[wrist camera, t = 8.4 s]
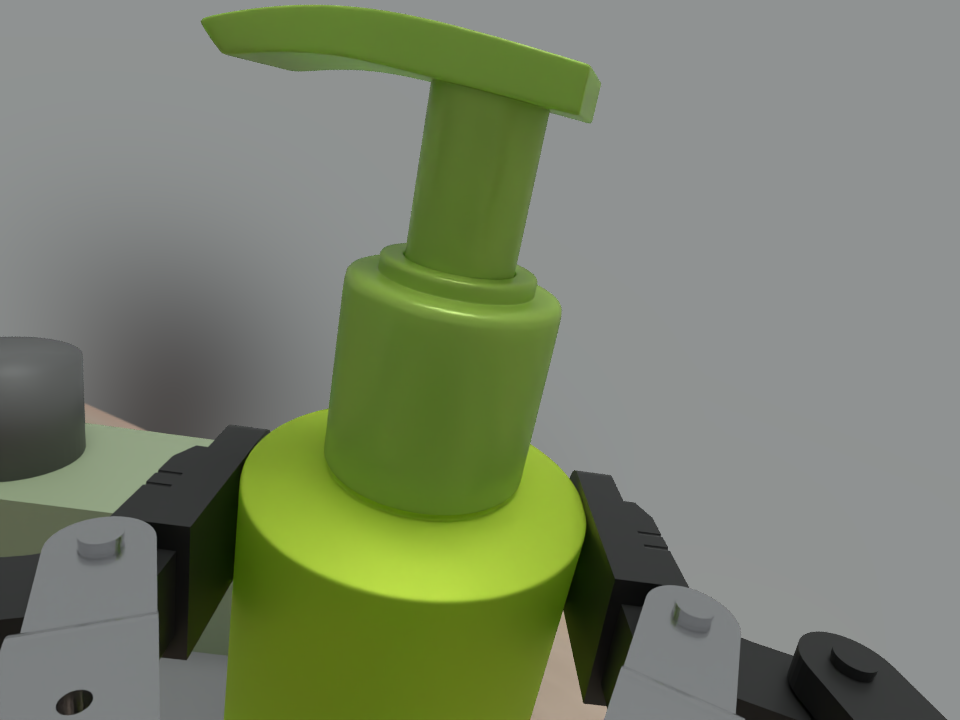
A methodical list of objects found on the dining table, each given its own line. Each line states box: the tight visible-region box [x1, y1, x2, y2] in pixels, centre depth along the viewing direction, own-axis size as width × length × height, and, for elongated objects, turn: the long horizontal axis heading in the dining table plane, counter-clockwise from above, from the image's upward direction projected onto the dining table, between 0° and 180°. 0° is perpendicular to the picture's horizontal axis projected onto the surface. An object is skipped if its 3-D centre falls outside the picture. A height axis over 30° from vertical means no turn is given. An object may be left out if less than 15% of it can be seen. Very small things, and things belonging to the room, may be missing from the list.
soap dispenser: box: [201, 5, 601, 720], centre depth 12 cm, size 6×7×20 cm
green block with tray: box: [0, 337, 233, 720], centre depth 27 cm, size 19×26×14 cm
